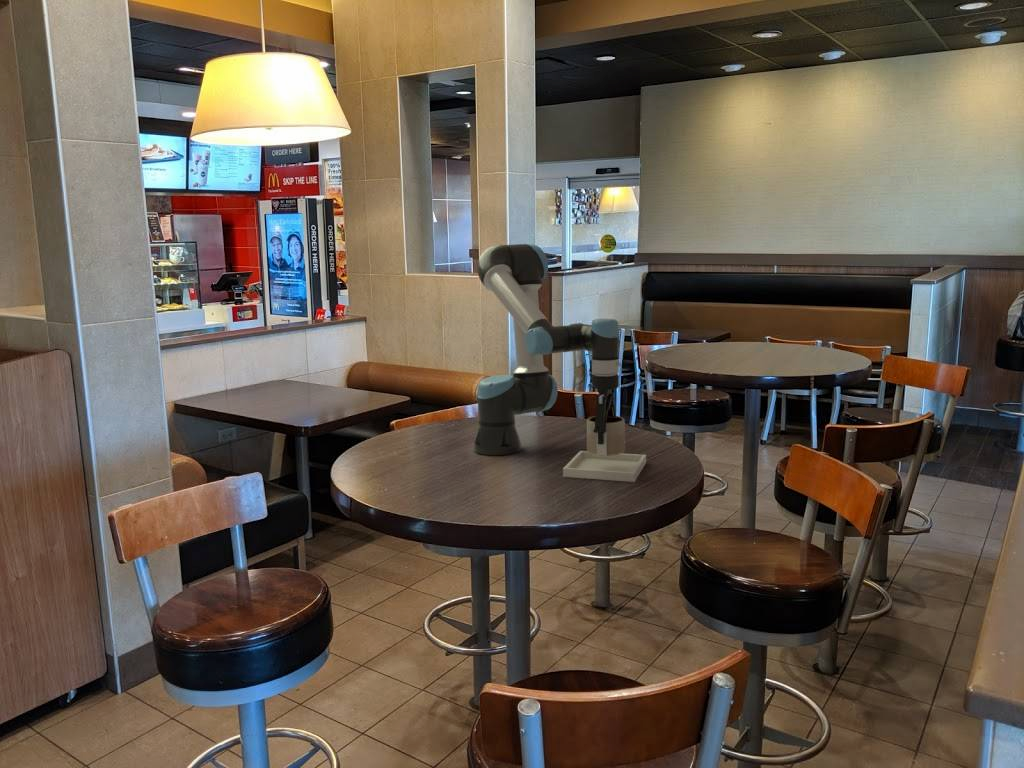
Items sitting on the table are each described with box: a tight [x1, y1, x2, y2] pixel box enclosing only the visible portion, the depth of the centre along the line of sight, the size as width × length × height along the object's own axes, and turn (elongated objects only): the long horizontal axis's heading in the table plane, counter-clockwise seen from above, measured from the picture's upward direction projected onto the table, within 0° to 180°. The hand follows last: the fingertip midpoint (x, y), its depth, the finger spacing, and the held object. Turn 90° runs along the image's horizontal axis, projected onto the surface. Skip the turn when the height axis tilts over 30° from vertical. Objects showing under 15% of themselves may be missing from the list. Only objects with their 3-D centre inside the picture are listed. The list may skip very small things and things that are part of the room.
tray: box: [562, 450, 647, 483], centre depth 225 cm, size 20×20×2 cm
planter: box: [586, 415, 626, 456], centre depth 223 cm, size 11×11×10 cm
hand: (605, 450), depth 224 cm, fingers closed on planter, 11 cm apart
